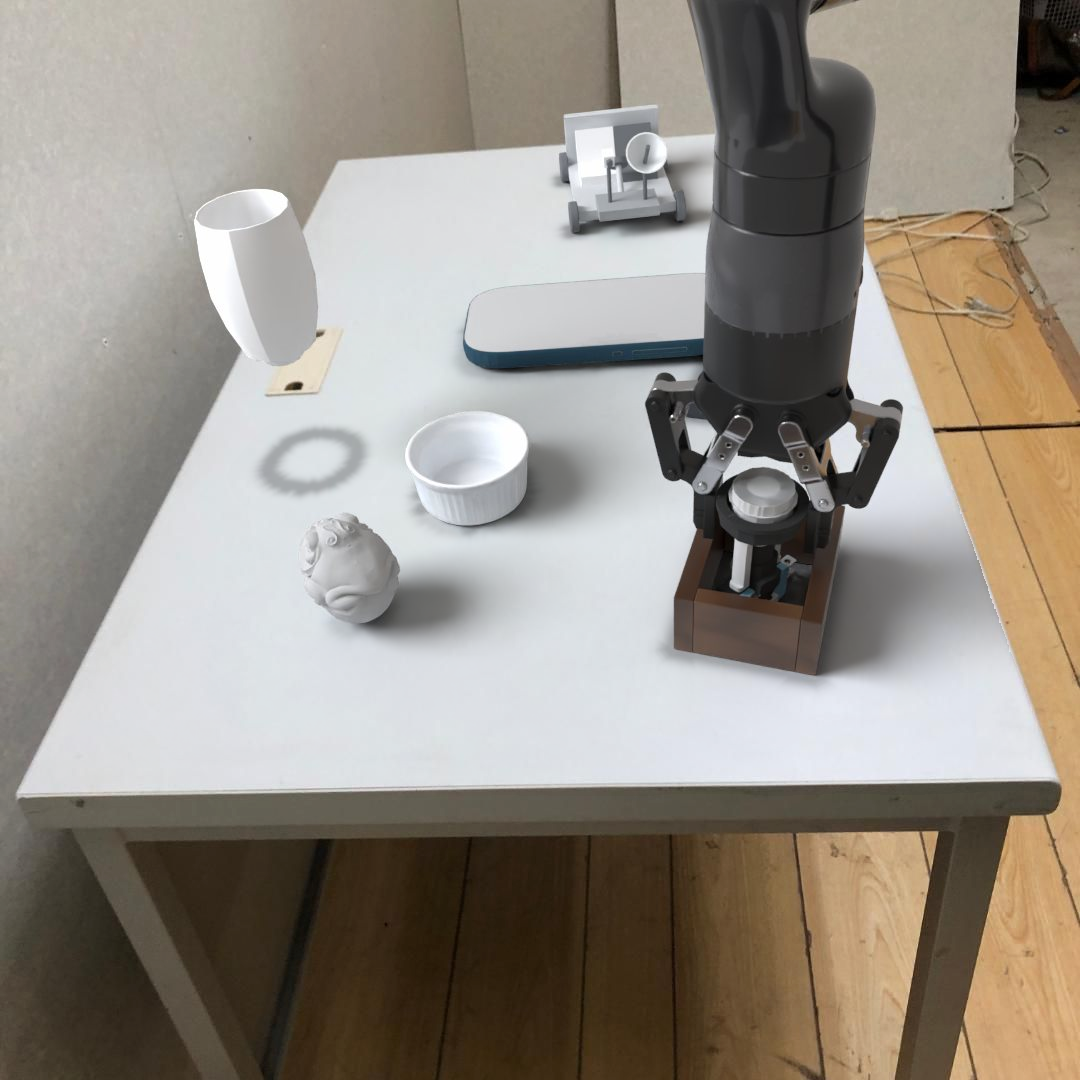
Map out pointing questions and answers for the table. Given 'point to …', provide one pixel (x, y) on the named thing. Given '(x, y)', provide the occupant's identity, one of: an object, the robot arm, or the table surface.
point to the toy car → (617, 166)
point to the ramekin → (469, 466)
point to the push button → (760, 530)
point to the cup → (259, 273)
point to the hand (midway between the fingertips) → (761, 537)
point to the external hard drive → (587, 321)
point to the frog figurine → (348, 568)
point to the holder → (754, 607)
